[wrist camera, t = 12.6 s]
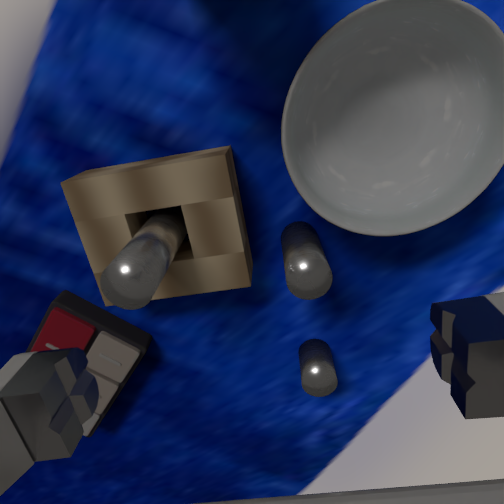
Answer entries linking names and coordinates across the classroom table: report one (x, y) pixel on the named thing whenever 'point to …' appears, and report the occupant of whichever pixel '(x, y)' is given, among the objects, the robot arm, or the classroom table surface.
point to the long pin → (144, 260)
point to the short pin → (317, 368)
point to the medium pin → (305, 261)
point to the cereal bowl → (397, 116)
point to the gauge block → (162, 196)
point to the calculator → (93, 346)
